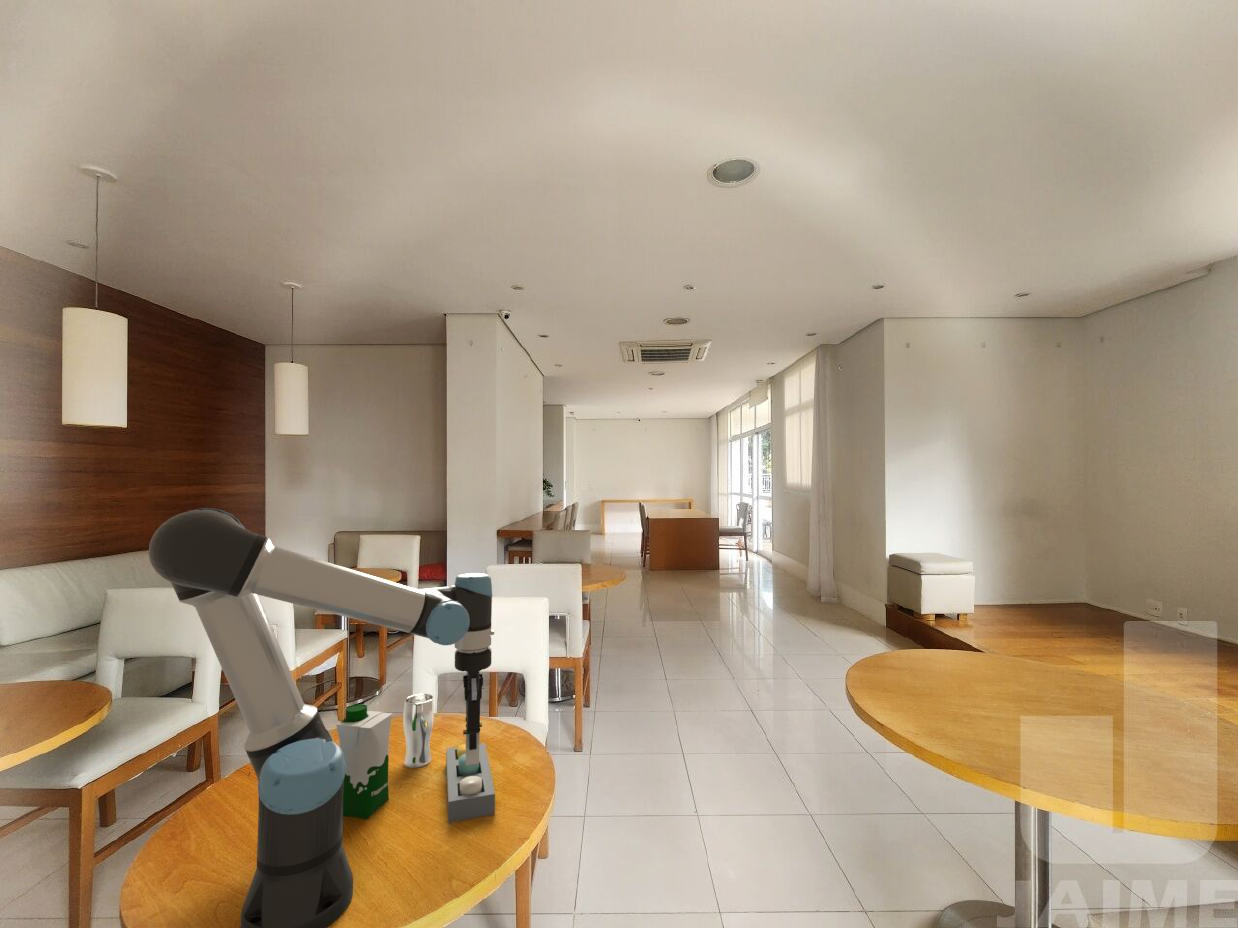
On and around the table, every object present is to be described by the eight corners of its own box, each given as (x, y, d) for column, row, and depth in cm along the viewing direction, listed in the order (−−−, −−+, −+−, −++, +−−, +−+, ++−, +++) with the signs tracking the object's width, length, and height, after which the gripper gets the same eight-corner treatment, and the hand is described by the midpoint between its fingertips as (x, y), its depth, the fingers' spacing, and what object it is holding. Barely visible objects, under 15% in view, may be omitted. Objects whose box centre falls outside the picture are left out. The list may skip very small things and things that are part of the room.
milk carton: (358, 793, 118) (360, 699, 119) (395, 798, 116) (397, 702, 117) (328, 817, 109) (331, 715, 110) (369, 822, 108) (371, 718, 109)
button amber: (477, 764, 127) (477, 750, 127) (457, 767, 125) (457, 752, 125) (475, 756, 131) (476, 742, 131) (456, 758, 129) (456, 744, 130)
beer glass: (437, 755, 135) (438, 693, 136) (425, 769, 128) (426, 704, 129) (410, 754, 136) (412, 692, 137) (396, 768, 129) (398, 703, 130)
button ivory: (482, 801, 111) (482, 784, 112) (460, 805, 110) (460, 788, 110) (480, 790, 116) (481, 774, 116) (459, 794, 114) (459, 777, 114)
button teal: (479, 776, 119) (479, 760, 119) (458, 779, 118) (458, 763, 118) (478, 766, 123) (478, 751, 123) (457, 769, 122) (458, 754, 122)
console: (494, 814, 110) (495, 793, 111) (448, 822, 107) (448, 801, 108) (484, 759, 133) (485, 742, 133) (446, 765, 130) (446, 748, 130)
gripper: (493, 654, 110) (493, 774, 109) (489, 638, 123) (488, 746, 122) (455, 658, 108) (453, 781, 107) (454, 641, 121) (453, 751, 119)
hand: (472, 762), depth 114 cm, fingers closed
